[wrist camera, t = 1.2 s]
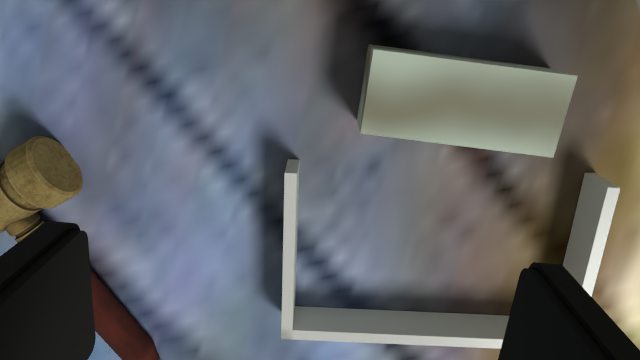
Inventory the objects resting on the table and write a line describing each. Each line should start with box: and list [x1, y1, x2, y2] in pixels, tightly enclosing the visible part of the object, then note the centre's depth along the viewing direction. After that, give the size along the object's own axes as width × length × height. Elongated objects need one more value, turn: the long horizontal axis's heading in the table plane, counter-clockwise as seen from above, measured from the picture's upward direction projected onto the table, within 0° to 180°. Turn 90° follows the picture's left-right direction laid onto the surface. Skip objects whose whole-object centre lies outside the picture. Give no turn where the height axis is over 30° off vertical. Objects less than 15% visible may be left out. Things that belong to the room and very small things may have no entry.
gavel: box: [0, 136, 161, 360], centre depth 37 cm, size 21×5×10 cm
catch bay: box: [281, 159, 620, 349], centre depth 35 cm, size 13×22×3 cm, turn 88°
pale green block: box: [357, 44, 577, 157], centre depth 31 cm, size 5×12×4 cm, turn 83°
